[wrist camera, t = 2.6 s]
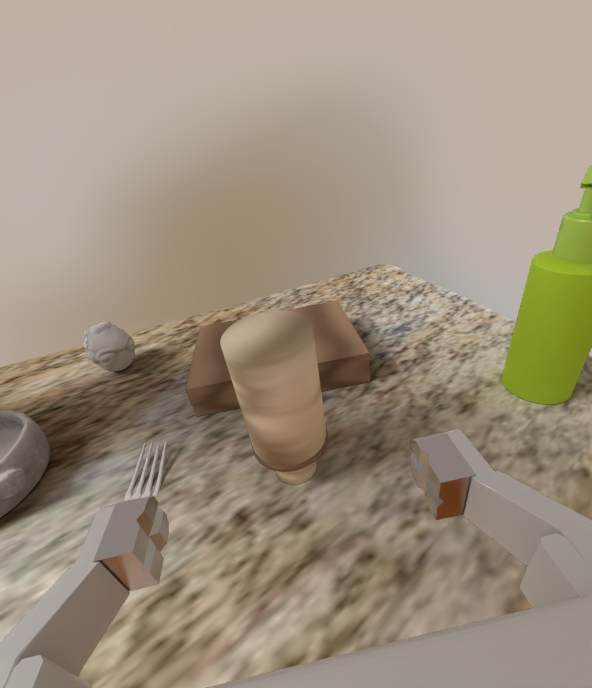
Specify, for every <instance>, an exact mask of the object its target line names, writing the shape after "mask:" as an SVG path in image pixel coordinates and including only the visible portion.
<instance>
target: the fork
mask: <svg viewBox="0 0 592 688" xmlns="http://www.w3.org/2000/svg"><path fill="white" fill-rule="evenodd" d="M145 446H146V442H144V444H143V447H142V451H141V454H140V457H139V460H138V463H137V466H136V469H135V472H134V475H133V478H132V480H131V483H130V486H129V488H128V491H127V493H126V496H125V499H124V500H130V499H137V498H145V497H149V495H150V494H151V492H150V490H151V487H152V483H153V478H154V473H155V469H156V464H157V459H158V453H159V447H160V441H158V444H157V448H156V452H155V456H154V460H153V464H152V468H151V473H150V477H149V481H148V484H147V487H146V490H145V492H144V493H143V494H142V496H141V490H142V487H143V483H144V479H145V476H146V472H147V468H148V464H149V460H150V456H151V451H152V446H153V442H151V444H150V447H149V451H148V455H147V458H146V461H145V465H144V468H143V471H142V475H141V478H140V482H139V484H138V487H137V489H136V492H135V493H134V494H133V496H132V497H131V492H132V490H133V487H134V484H135V481H136V478H137V475H138V472H139V468H140V465H141V462H142V459H143V455H144V450H145ZM166 447H167V441H165V444H164V449H163V453H162V458H161V463H160V469H159V474H158V479H157V483H156V487H155V491H154V492H153V496H156V495H157V494H158V492H159V490H160V487H161V481H162V475H163V469H164V463H165V456H166ZM140 496H141V497H140Z"/></svg>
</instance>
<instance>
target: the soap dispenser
mask: <svg viewBox="0 0 592 688" xmlns="http://www.w3.org/2000/svg"><path fill="white" fill-rule="evenodd" d="M580 188H585V191H584V195H583V198H582V201H581V204H580V207H579V208H577V209H575V210H573V211H572V212H568V213H566V214H565V215H564V216H563V218H562V221H561V225H560V228H559V232H558V235H557V239H556V242H555V246H554V250H551V251H545V252H542V253H539V254H537V255H535V256H534V257H533V259H532V262H531V266H530V270H529V274H528V278H527V282H526V286H525V290H524V293H523V297H522V302H521V305H520V309H519V313H518V317H517V321H516V324H515V328H514V332H513V336H512V340H511V344H510V348H509V352H508V356H507V359H506V363H505V367H504V371H503V375H502V382H503V384H504V386H505V387H506V389H507V390H509V391H510V392H511V393H512V394H514V395H516V396H517V397H519V398H522V399H524V400H527V401H530V402H533V403H538V404H547V405H552V404H560V403H563V402H565V401H567V400H568V399H569V398H570V397H571V395H572V393H573V391H574V388H575V386H576V383H577V381H578V379H579V376H580V374H581V371H582V369H583V367H584V364H585V362H586V360H587V357H588V355H589V352H590V350H591V348H592V165H591V166H590V167H589V168H588V170H587V172H586V174H585V176H584V178H583V180H582V183H581V187H580Z"/></svg>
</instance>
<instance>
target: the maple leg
mask: <svg viewBox="0 0 592 688" xmlns="http://www.w3.org/2000/svg"><path fill="white" fill-rule="evenodd" d="M220 344H221V348H222V351H223V354H224V357H225V361H226V364H227V367H228V370H229V373H230V376H231V380H232V383H233V386H234V389H235V392H236V395H237V399H238V402H239V405H240V408H241V411H242V414H243V417H244V421H245V424H246V427H247V430H248V433H249V436H250V440H251V443H252V448H253V451H254V454H255V456H256V458H257V460H258V461H259V462H260V463H261V464H262V465H264V466H265V467H267V468H269V469H271V470H275V472H276V475H277V477H278V478H279V479H280V480H281V481H282V482H284V483H286V484H291V485H297V484H301V483H304V482H306V481H308V480H309V479H310V478H311V477H312V476H313V475H314V473H315V471H316V468H317V461H316V460H317V459H318V458H319V457H320V456H321V455H322V453H323V452H324V450H325V448H326V445H327V439H328V437H327V428H326V425H325V417H324V410H323V402H322V394H321V386H320V379H319V371H318V363H317V356H316V348H315V340H314V332H313V325H312V322H311V321H310V319H309V318H308V317H306V316H305V315H303V314H300V313H297V312H293V311H285V310H276V311H267V312H261V313H257V314H254V315H251V316H248V317H245V318H243V319H241V320H239V321H237V322H236V323H234V324H233V325H231V326H230V327H229V328H228V329H227V330H226V331H225V332H224V333H223V335H222V337H221V341H220Z"/></svg>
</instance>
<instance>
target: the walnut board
mask: <svg viewBox="0 0 592 688" xmlns="http://www.w3.org/2000/svg"><path fill="white" fill-rule="evenodd" d="M286 311H293V312H297V313H300V314H303V315H305V316H306V317H308V318H309V319H310V321H311V322H312V325H313V332H314V340H315V348H316V356H317V363H318V371H319V379H320V386H321V391H326V390H331V389H336V388H341V387H345V386H350V385H355V384H360V383H365V382H370V353H369V351H368V350H367V348H366V346H365V345H364V343H363V341H362V340H361V338H360V337H359V335H358V333H357V332H356V330H355V328H354V327H353V325H352V324H351V322H350V320H349V319H348V317H347V315H346V314H345V312H344V311H343V309H342V307H341V306H340V304H339V302H338V301H333V302H328V303H323V304H318V305H312V306H307V307H302V308H297V309H291V310H286ZM239 320H241V319H239ZM239 320H234V321H229V322H223V323H218V324H213V325H208V326H202V327H200V330H199V334H198V338H197V342H196V347H195V351H194V355H193V359H192V363H191V368H190V372H189V376H188V380H187V385H186V389H185V390H186V392H187V395H188V397H189V399H190V402H191V404H192V406H193V409H194V411H195V414H196V416H197V417H198V416H203V415H208V414H213V413H218V412H222V411H227V410H232V409H237V408H240V405H239V402H238V399H237V395H236V392H235V389H234V386H233V383H232V380H231V376H230V373H229V370H228V367H227V364H226V361H225V357H224V354H223V351H222V348H221V344H220V341H221V337H222V335H223V333H224V332H225V331H226V330H227V329H228V328H229V327H230V326H231V325H233V324H234V323H236V322H237V321H239Z"/></svg>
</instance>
